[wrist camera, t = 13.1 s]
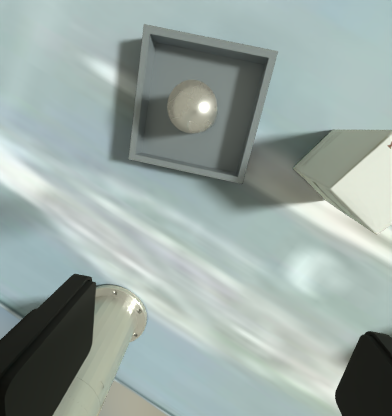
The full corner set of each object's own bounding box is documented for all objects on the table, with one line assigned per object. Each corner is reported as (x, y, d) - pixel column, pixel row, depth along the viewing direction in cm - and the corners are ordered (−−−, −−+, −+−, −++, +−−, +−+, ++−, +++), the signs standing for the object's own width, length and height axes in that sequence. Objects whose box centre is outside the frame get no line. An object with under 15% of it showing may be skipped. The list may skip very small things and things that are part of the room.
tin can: (212, 136, 34) (210, 137, 26) (176, 128, 34) (163, 127, 27) (221, 96, 32) (222, 85, 25) (183, 87, 32) (171, 74, 25)
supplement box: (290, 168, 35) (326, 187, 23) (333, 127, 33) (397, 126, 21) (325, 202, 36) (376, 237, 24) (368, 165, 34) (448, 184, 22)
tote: (240, 178, 36) (242, 184, 33) (138, 156, 37) (128, 159, 33) (271, 60, 31) (278, 51, 28) (152, 36, 32) (143, 24, 28)
